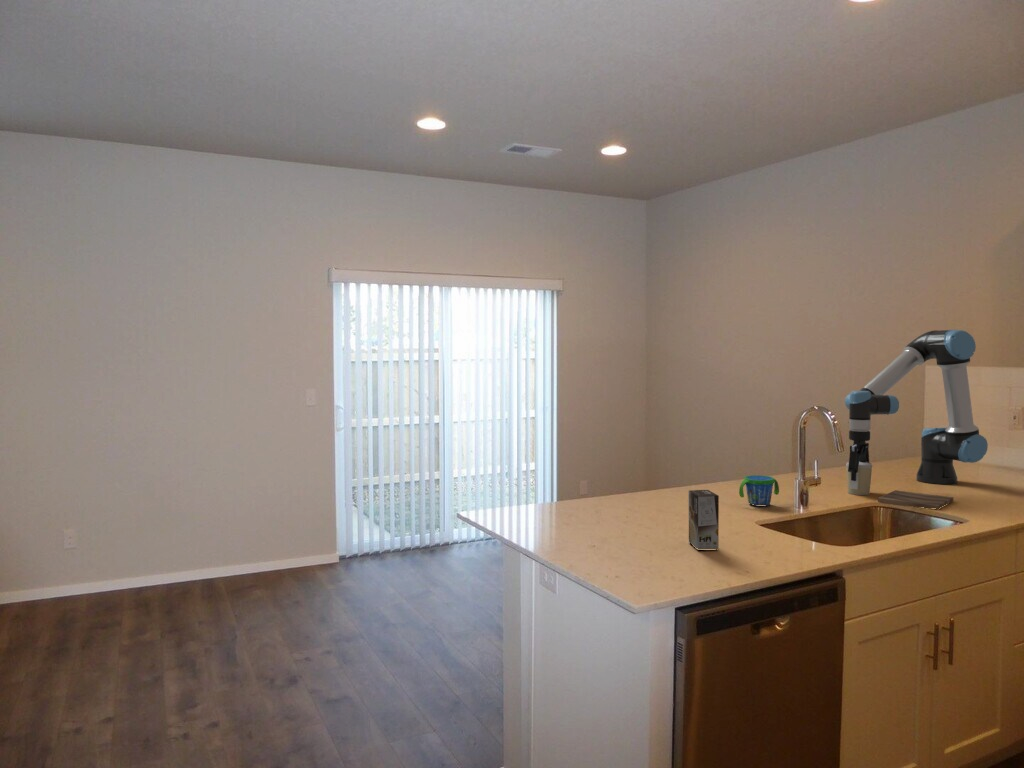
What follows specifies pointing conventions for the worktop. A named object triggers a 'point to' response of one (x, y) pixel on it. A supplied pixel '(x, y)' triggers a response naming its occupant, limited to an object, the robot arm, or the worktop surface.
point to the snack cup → (759, 489)
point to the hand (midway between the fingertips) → (858, 487)
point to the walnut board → (915, 499)
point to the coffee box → (703, 519)
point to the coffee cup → (861, 479)
